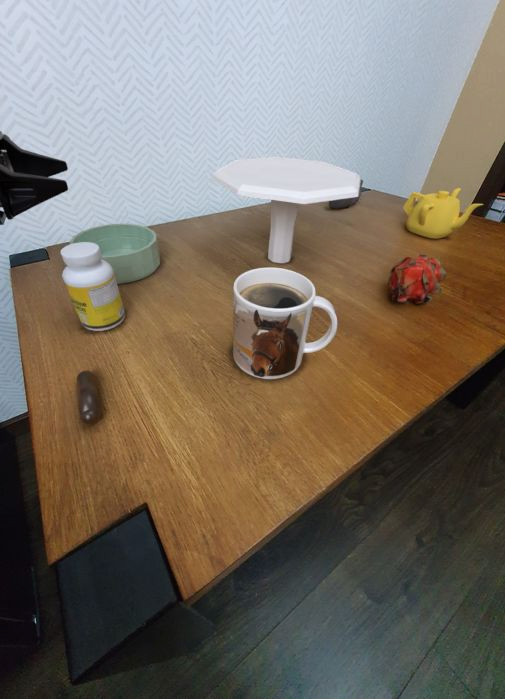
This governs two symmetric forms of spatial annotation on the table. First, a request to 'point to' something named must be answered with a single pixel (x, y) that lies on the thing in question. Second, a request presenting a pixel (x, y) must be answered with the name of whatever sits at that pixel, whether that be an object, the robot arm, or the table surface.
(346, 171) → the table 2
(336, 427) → the table surface
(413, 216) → the teapot
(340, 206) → the perforated stone tool
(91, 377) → the stick
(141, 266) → the bowl
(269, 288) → the mug
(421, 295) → the dragon fruit
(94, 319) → the pill bottle
